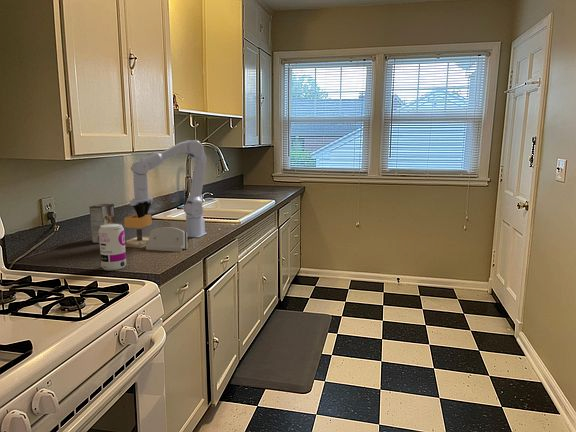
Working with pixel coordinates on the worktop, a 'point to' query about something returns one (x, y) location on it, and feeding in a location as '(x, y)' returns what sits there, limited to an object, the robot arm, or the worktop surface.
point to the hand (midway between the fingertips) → (142, 219)
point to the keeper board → (137, 240)
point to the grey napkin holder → (167, 239)
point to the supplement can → (112, 246)
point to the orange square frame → (137, 221)
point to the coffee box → (101, 218)
